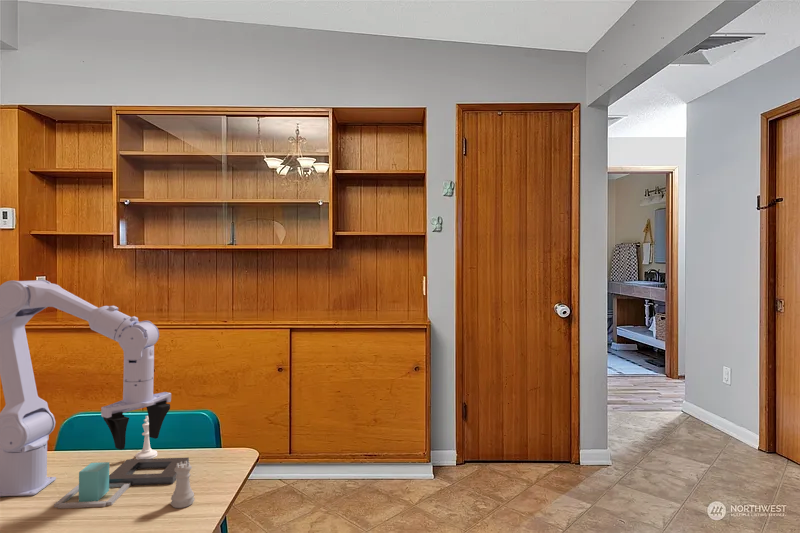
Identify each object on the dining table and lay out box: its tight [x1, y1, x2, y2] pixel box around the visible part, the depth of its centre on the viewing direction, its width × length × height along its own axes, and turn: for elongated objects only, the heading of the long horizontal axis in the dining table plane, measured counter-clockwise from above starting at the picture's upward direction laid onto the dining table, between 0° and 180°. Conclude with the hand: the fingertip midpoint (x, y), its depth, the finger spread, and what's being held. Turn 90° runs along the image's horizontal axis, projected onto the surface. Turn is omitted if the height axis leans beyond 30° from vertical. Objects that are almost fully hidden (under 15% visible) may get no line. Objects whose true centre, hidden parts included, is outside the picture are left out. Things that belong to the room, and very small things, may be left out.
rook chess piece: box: [170, 461, 195, 509], centre depth 99 cm, size 4×4×8 cm
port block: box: [109, 457, 190, 486], centre depth 112 cm, size 14×11×2 cm
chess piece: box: [135, 415, 158, 459], centre depth 123 cm, size 5×5×10 cm
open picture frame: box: [53, 483, 132, 509], centre depth 101 cm, size 11×10×1 cm
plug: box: [78, 461, 110, 502], centre depth 101 cm, size 4×5×6 cm
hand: (137, 442), depth 105 cm, fingers open, 7 cm apart
